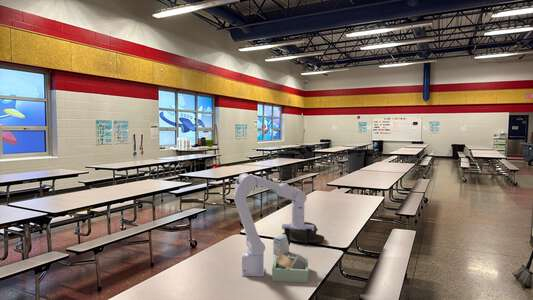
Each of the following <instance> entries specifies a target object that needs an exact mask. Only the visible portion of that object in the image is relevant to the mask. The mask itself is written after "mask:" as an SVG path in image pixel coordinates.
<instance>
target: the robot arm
mask: <svg viewBox="0 0 533 300" xmlns="http://www.w3.org/2000/svg"><path fill="white" fill-rule="evenodd" d="M261 187H263V188H265V189H268V190H271V191H273V192H274V191H275V192H276V194H277V195H278V196H280V197H282V198H285V199H288V200H291V223H292V224H291V223H282V224H281V230H284V231H283V233H284V232H285V234H286V236H287V239H288V244H289V246H291V240H290V229H302V230H306V242H305V243H304V244H305V246H306V247H307V246H308V243H309V242H308V239H309V237H310V235H311V233H312V230H314V225H308V224H304V222H305V202H306V201H307V198H308V196H307V194H306V193H305V191H303V190H301V189H300V188H298V187H296V186H294V187H293V186H291V185H289V183H287V182H284V183H283V182H282V183H279V184H277V183H276V182H273V181H271V180H268V179H266V178H263V177H261V176H257V175H256V174H255V175H253V174H250V173H249V174H248V173H247V172H244V173H240V174H239V176H238V177H237V178H236V180H235V186H234V191H233V197H232V198H233V200H234V203H235V206H236V209H237V213H238V215H239V218H240V221H241V223H242V226H243V228H244V232H245V238H246V241H245V242H246V246H247V248H248V249H247V251H245V252H242V255H241V257H242V258H241V276H242V277H259V278H260V277H262V278H263V277H264V276H265V272H266V267H265V266H264V265H265V264H264V263H265V262H264V261H265V259H264V257H265V256H264V252H265V250H266V245H265V243H264V242H263V241H262V240H261V237H260V235H259V234H258V231H257V228H256V225H255V222H254V219H253V216H252V214H251V210H250V207H249V205H248V202H247V197H248V195H249V194H250V193H251V192H252V191H253V190H254V189H255V188H257V189H259V188H261Z"/></svg>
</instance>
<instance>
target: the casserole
mask: <svg viewBox="0 0 533 300" xmlns="http://www.w3.org/2000/svg"><path fill="white" fill-rule="evenodd" d="M290 224H292V222H291V223H290ZM304 224H308V225H314V230H312V233H311V235H310V237H309V239H308V243H320V242H323V241H324V240H325V236H324V235H321V234H318V233H317V232H318V230H319V229H318V228H317V226H316V224H314V223H312V222H308V221H304ZM282 234H284V235H286V234H285V232H284V231H283V232H282ZM290 241H292V242H296V243H303V244H305V242H306V230H302V229H290Z"/></svg>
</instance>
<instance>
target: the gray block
mask: <svg viewBox="0 0 533 300" xmlns="http://www.w3.org/2000/svg"><path fill="white" fill-rule="evenodd" d="M294 257H295V259H294V260H293V262H292V268H293V269H304V267H305V266H306V264H307V260H306V259H305V258H303V256H302V255H300V254H298V253H297V255H296V256H294Z"/></svg>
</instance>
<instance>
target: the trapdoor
mask: <svg viewBox="0 0 533 300" xmlns="http://www.w3.org/2000/svg"><path fill="white" fill-rule="evenodd" d="M292 262H293V260H291V259H289V258H288V256H286V254H282V253H280V252H279V255H278V260H277V263H278V268H284V269H287V267H288V268H289V269H293V268H292Z"/></svg>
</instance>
